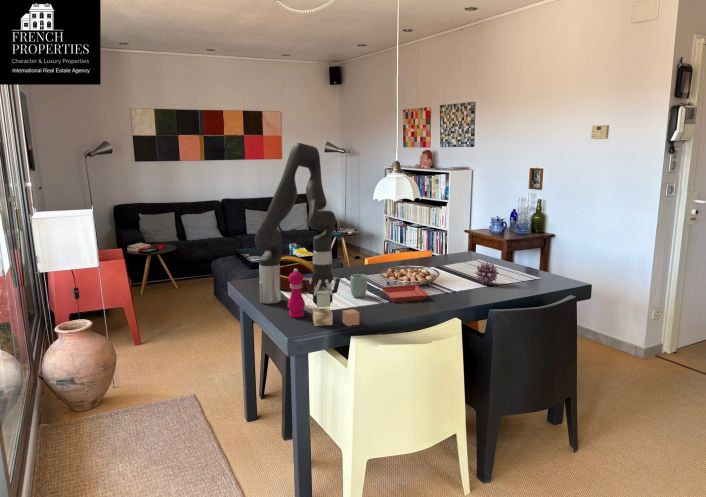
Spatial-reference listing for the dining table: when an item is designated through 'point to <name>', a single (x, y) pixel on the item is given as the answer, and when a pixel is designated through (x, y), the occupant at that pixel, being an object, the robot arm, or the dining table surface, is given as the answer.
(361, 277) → the cup
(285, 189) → the robot arm
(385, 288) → the plant saucer
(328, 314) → the birch block
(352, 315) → the terracotta cube
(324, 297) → the sage cube
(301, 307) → the pepper mill
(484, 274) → the purple spiky ball
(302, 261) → the decorative basket
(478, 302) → the dining table surface
